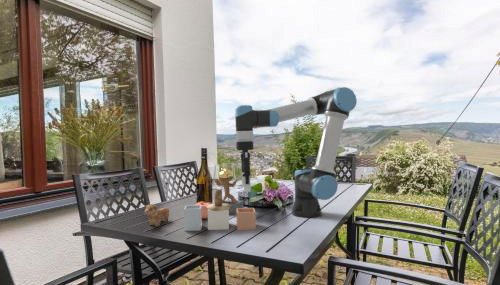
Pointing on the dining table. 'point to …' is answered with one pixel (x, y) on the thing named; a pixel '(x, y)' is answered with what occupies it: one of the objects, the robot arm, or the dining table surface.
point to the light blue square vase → (192, 217)
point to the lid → (218, 202)
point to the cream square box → (218, 220)
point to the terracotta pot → (246, 218)
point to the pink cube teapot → (204, 209)
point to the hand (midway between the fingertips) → (246, 189)
